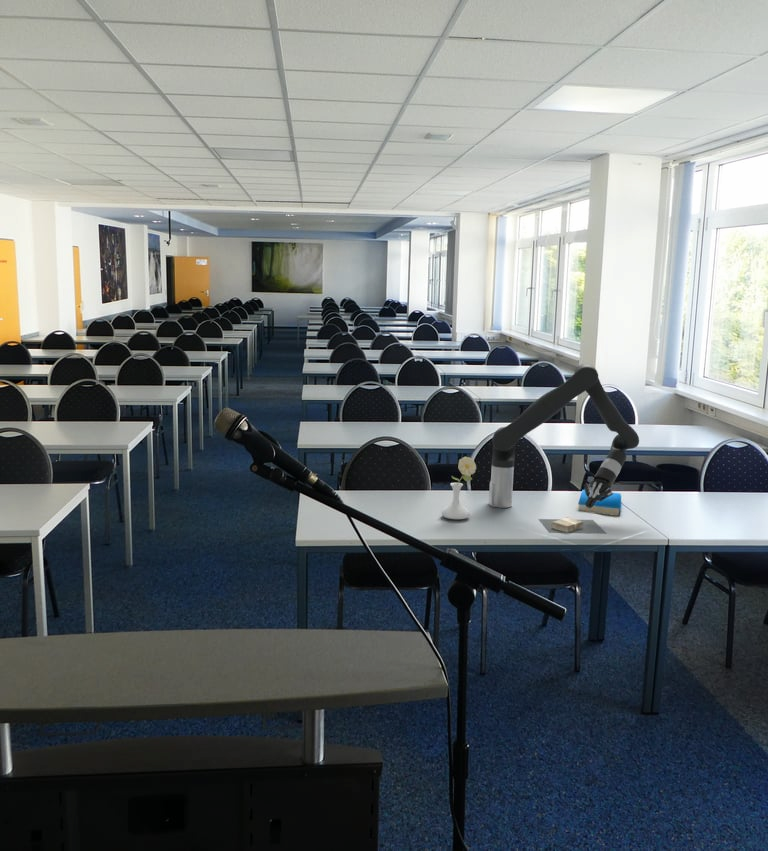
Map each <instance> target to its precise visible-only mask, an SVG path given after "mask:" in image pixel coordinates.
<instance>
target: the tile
mask: <svg viewBox="0 0 768 851" xmlns="http://www.w3.org/2000/svg"><path fill="white" fill-rule="evenodd" d="M560 519H561V518H560ZM579 520H580V519H575V518H571V517H565V518H562V519H561V520H557V521H554V522H552V528H554V529H557V530H561V531H564V532H570V531H573V530H577V529H580V528H583V522H582V521H579Z"/></svg>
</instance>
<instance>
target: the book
mask: <svg viewBox="0 0 768 851" xmlns="http://www.w3.org/2000/svg"><path fill="white" fill-rule="evenodd" d="M612 493H613V495H611V496H609V497H607V498H606V499H604V500H602V501H599V500H598V501H596V502H595V504H594V505H593V507H591V508H587V507H586V504H585V503H586V501H587V499H588V497H587V495H586V493H585V489H582V491H581V492H580V496H579V500H578V511H583V512H587V513H590V512H594V513H593V514H599V513H604V514H603V515H608V514H613V515H612V516H620V515H621V505H622V494H621V493H620V492H618V493H617V492H612ZM602 497H603V496H602Z"/></svg>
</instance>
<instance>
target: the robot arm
mask: <svg viewBox="0 0 768 851" xmlns="http://www.w3.org/2000/svg"><path fill="white" fill-rule="evenodd" d="M584 392H586V393H587V395H588V396H589V397H590V399H591V401H592V403H593V404H594V406H595V408H596V410H597V411H598V414H599V416H600V417H601V419H602V420H603V422H604V424H605V425H606V427H607V428H608V430H609V431H611V432H614V433H616V435H615V436H614V438H613V439H612V442H611V445H610V448H609V449H610V451H609V452H608V453H607V455H606V457H605V459H604V460H603V461H602V462H601V465H600V467H599V468H598V469H597V471H596V473H595V475H594V477H593V480H591V481H590V483H588V484H587V483H584V484H583V488H584V490H585V493H586V495H587V497H588V499H587V501H586V503H585V504H586V507H587V508H591V507H593V505H594V504H595V502H596V501H598V500H599V501H602V500H604V499H606V498H607V497H609V496H611V495H613V493H614V492H613V490H612V489H611V487H612V486H613V484H614V482H615V481H616V479H617V477H618V475H619V474H620V472H621V469H622V467H623V465H624V464H625V462H626V460H627V454H626V451H627V450H631V449H634V448H637V447H638V446H639V444H640V437H639V434H638V433H637V431H636V430H635V429H634V428H633V427H632V426H631V425H630V424H629V423H627V421H626V420H624V417H623V416H622V414H621V413H620V412H619V410H618V408H617V407H616V405H615V404H614V402H613V401H612V399H611V398H610V397H609V395H608V394H607V391H605V389H604V387H603V385H602V382H601V380H600V378H599V373H598V370H597V369H596V367H594V366H593V365H591V364H589V363H582V364H579V365H578V366H577V367H576V368H575V370H574V374H573V375H571V376H570V377H569V378H568V379H567V380H566V381H565V382H564V383H562V384H561V385H559V386H557V387H556V388H554V389H551V390H550V391H547V392H546V393H544V394H543V395H542V396H540V397H539V398H537V399H536V400H535V401H533V402H532V403H531V404H530V405H529V406H528V407H527V408H526V409H525V410H524V411H523V412H522V413H521V414H520V415H519V416H518V417H517V418H516V419H515V420H513V422H510V424H508V425H506V426H502V427H498V429H497V430H495V432H494V433H493V436H492V440H491V442H492V457H491V470H490V471H491V473H490V474H491V476H490V481H489V488H488V489H489V491H488V493H489V494H488V504H489V506H490V507H492V508H494V507H495V508H499V509H501V508H502V509H504V508H505V509H507V508H511V507H512V505H513V504H512V503H513V486H514V469H515V457H516V444H517V443H518V442H519V441H520V440H522V439H523V437H524V436H526V435H527V434H529V433H530V432H532V431H534V430H535V429H536V428H538V427H540V426H541V425H543V424H544V423H546V422H547V421H549V420H550V419H552V417H554V416H555V415H556V414H558V412H560V411H561V410H562V409H563V408H565V406H567V405H568V404H569V403H570V402H571V401H572V400H574V399H575V398H577V397H578V396H580V395H581V394H583V393H584ZM602 496H603V497H602Z"/></svg>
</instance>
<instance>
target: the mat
mask: <svg viewBox="0 0 768 851" xmlns="http://www.w3.org/2000/svg"><path fill="white" fill-rule="evenodd" d="M557 520H561V518H560V519H559V518H558V519H557V518H538V521H539V522H540V523H541V524H542V526H543V527H544V528H545V530H546V531H547V532H548V533H550V534H600V535H601V534H605V535H606V534H608V532H606V531H605V530H604V529H603V528H602V527H601V525H599V524H598V523H597V522H596V521H595V520H594V519H578V520H579V521H582V522H583V528H580V529H577V530H573V531H570V532H564V531H561V530H557V529H554V528H552V522H554V521H557Z"/></svg>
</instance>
